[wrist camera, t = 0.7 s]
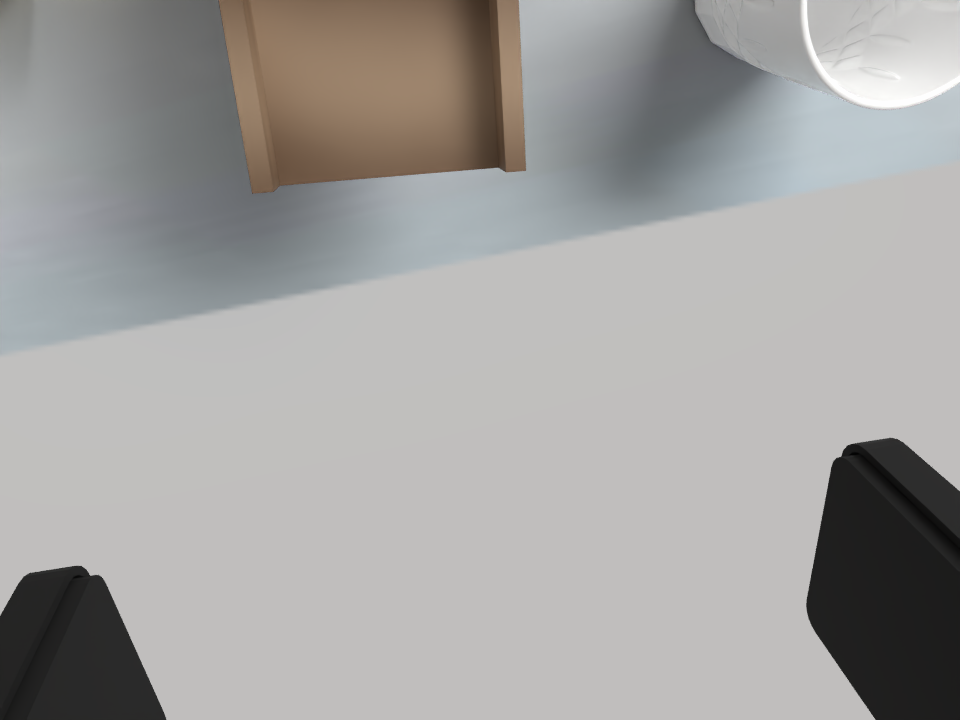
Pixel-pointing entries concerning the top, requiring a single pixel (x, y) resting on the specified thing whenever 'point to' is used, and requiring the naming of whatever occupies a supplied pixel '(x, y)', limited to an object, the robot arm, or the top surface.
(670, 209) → the top surface
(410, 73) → the beam
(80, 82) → the top surface
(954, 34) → the white cup
